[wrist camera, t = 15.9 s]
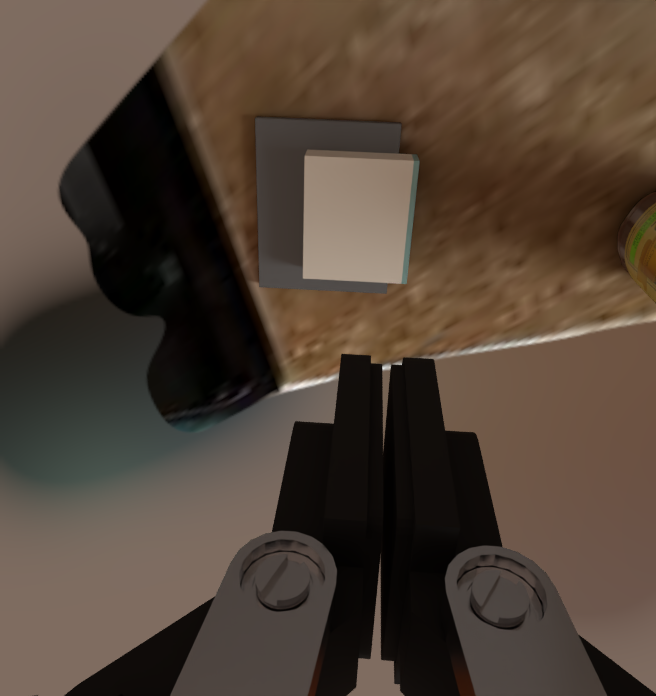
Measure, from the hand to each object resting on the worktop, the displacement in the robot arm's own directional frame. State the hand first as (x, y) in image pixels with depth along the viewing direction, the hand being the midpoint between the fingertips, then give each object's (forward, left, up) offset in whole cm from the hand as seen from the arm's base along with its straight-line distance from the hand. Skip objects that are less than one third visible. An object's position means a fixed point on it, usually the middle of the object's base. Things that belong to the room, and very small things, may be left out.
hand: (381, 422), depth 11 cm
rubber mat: (+2, +3, -26) cm, 26 cm away
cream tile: (+3, +3, -24) cm, 24 cm away
